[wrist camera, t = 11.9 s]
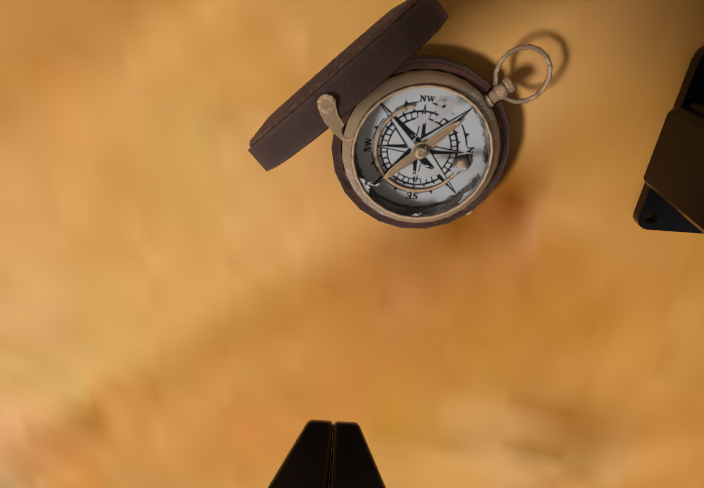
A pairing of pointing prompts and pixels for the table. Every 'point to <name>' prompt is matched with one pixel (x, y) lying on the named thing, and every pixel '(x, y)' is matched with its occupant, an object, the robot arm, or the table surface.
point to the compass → (402, 122)
